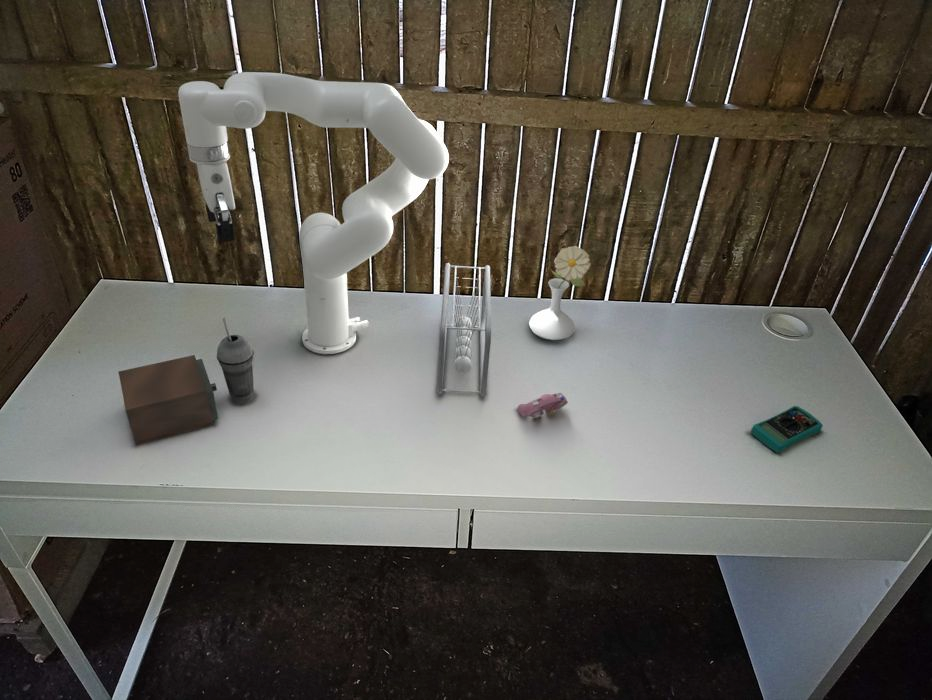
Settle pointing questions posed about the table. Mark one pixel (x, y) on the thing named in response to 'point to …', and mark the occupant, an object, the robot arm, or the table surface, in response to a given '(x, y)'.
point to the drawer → (208, 389)
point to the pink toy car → (542, 405)
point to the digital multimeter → (786, 428)
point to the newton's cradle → (466, 330)
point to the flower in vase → (553, 319)
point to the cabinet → (165, 399)
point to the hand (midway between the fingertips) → (221, 230)
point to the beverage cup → (237, 366)
